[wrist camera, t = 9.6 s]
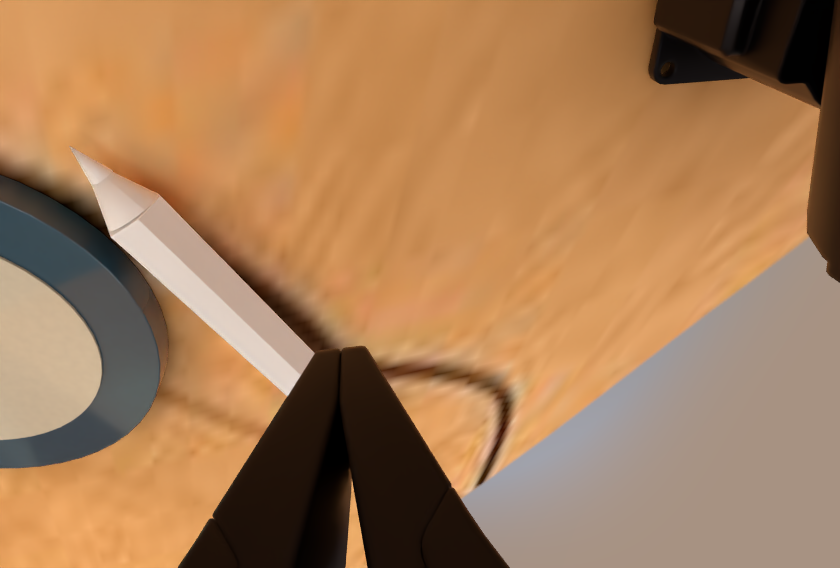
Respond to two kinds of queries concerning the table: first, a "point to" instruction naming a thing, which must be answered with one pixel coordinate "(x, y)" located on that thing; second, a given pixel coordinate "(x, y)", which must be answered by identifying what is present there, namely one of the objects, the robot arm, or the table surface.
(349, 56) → the table surface
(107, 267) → the plate
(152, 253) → the beige long bar
